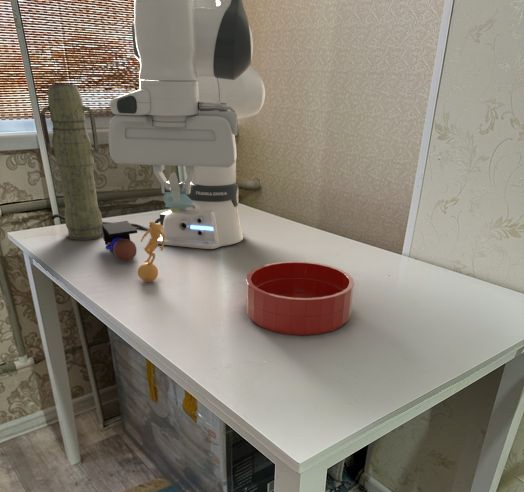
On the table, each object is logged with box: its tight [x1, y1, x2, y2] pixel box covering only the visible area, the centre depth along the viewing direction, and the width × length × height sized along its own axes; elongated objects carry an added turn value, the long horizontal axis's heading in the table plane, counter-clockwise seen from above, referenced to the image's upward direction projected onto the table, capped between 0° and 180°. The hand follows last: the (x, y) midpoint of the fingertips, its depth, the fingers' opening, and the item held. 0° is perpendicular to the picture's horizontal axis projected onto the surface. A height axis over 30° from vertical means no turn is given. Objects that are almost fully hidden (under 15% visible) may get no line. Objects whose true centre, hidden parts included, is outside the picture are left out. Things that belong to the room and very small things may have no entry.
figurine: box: [137, 221, 165, 283], centre depth 102 cm, size 8×6×12 cm
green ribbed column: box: [39, 83, 103, 241], centre depth 124 cm, size 9×12×35 cm
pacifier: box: [162, 171, 200, 215], centre depth 84 cm, size 7×6×6 cm
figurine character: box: [101, 220, 138, 262], centre depth 118 cm, size 7×8×15 cm
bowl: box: [245, 260, 355, 336], centre depth 90 cm, size 19×19×6 cm
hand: (176, 193), depth 85 cm, fingers closed on pacifier
